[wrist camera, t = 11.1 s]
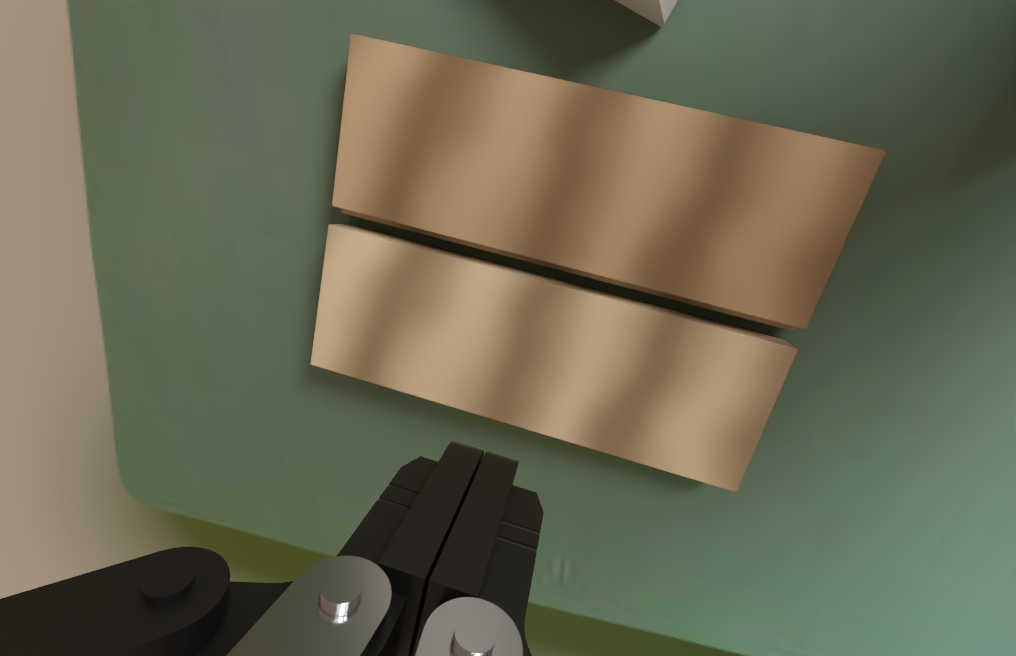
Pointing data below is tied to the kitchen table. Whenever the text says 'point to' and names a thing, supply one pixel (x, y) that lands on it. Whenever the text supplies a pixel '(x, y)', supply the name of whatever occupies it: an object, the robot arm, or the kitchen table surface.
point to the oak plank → (548, 355)
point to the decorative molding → (651, 9)
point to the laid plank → (598, 181)
